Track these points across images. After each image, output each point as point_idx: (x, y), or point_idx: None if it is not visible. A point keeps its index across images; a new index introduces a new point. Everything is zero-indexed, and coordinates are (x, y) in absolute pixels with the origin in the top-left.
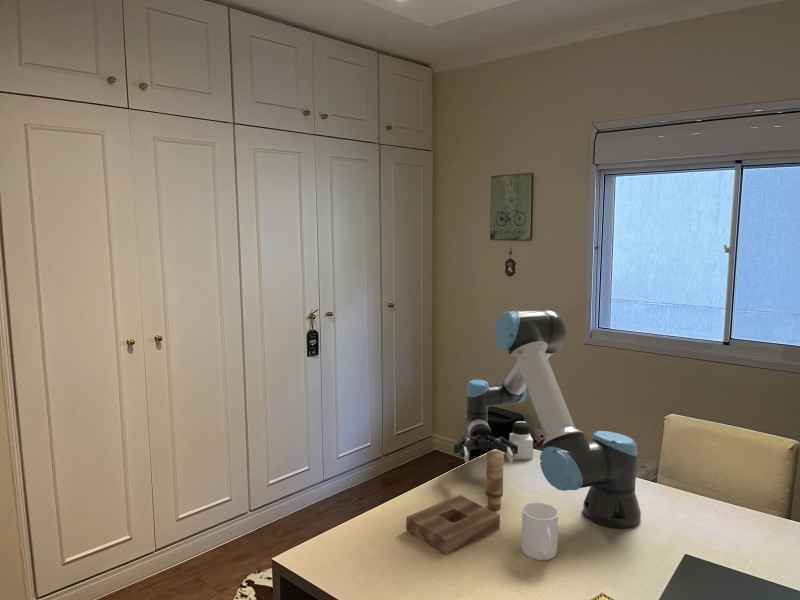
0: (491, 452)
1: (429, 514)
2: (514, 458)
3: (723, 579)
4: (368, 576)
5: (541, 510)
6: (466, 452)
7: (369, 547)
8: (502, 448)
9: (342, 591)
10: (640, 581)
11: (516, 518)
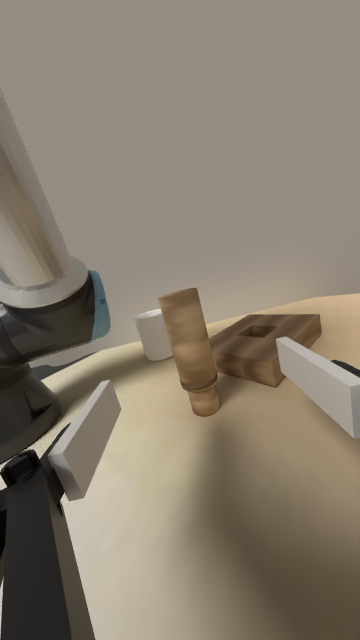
0: (184, 292)
1: (291, 323)
2: None
3: (44, 369)
4: (302, 306)
5: (146, 325)
6: (294, 346)
7: (336, 314)
8: (65, 542)
9: (308, 299)
10: (104, 353)
11: (170, 389)
